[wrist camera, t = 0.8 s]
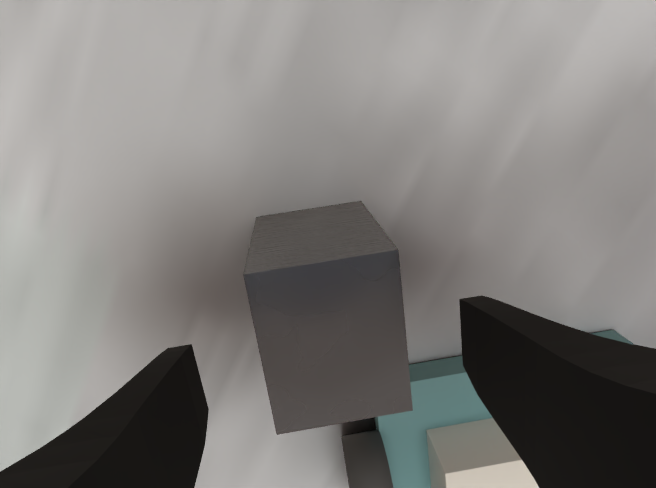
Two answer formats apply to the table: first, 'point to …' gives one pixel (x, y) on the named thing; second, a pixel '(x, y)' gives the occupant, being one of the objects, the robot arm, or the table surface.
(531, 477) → the chassis
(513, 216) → the table surface
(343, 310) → the dark grey upright block
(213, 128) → the table surface
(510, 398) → the robot arm
